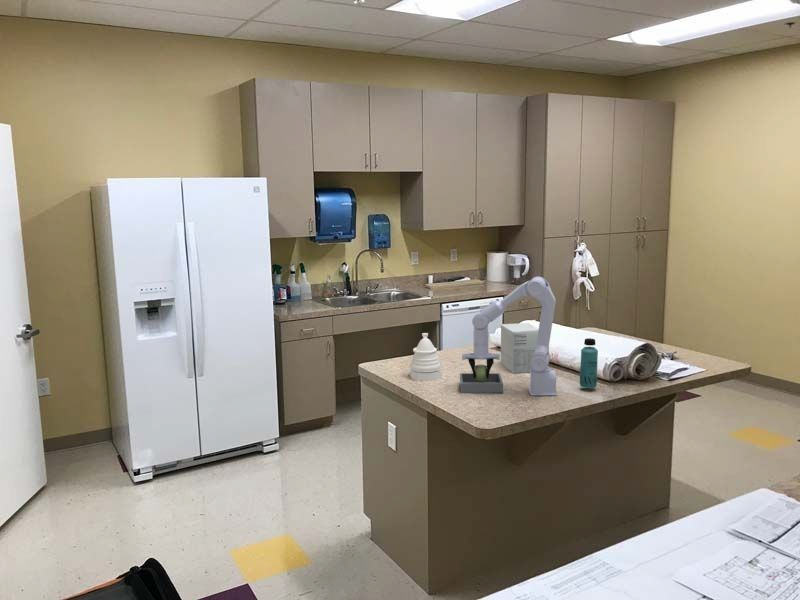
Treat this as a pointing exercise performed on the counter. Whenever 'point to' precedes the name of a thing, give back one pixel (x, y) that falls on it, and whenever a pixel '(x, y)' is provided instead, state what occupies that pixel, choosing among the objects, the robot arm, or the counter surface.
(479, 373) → the cucumber chunk
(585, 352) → the beverage bottle
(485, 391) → the bin
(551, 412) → the counter surface
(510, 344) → the supplement box
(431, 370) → the honey pot
